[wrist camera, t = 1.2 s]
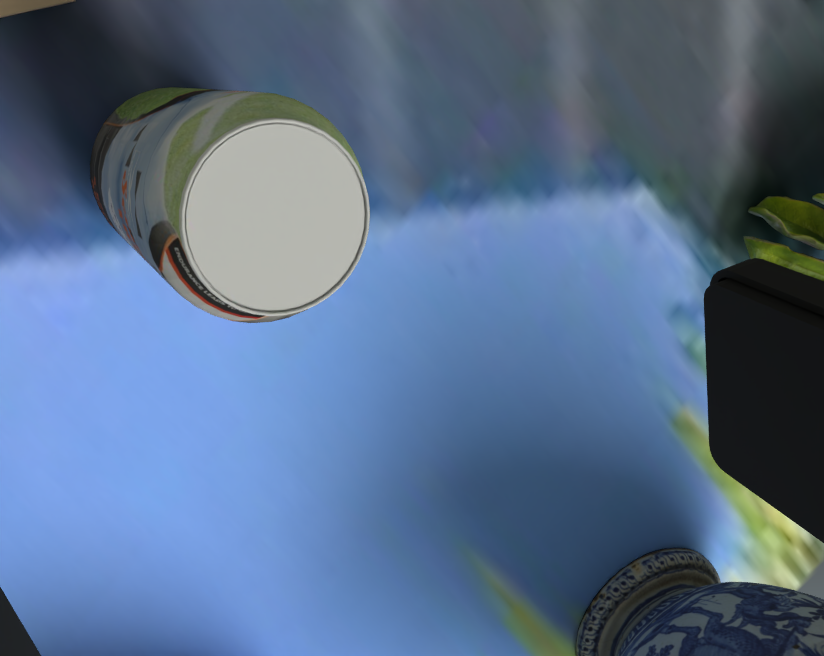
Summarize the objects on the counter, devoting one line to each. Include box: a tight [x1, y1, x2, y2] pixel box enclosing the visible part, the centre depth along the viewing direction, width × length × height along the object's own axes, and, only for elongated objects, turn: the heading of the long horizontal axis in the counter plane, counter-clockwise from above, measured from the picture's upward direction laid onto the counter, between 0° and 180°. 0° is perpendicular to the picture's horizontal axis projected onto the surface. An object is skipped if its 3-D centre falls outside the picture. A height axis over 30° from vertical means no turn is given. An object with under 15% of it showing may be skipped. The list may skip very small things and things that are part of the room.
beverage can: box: [90, 87, 370, 323], centre depth 24 cm, size 6×7×12 cm
